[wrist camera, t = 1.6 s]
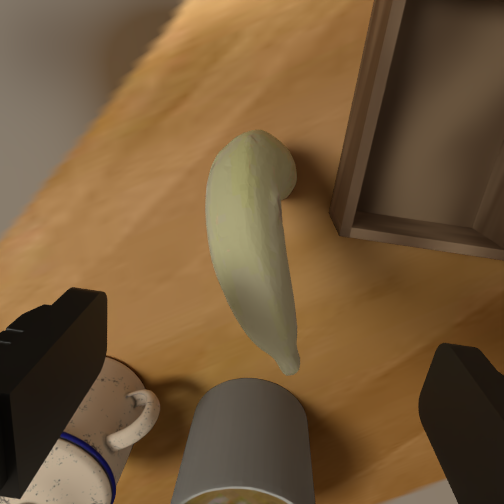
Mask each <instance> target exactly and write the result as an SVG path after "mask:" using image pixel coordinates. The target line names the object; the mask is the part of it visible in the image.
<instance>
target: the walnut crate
mask: <svg viewBox="0 0 504 504" xmlns="http://www.w3.org/2000/svg"><path fill="white" fill-rule="evenodd" d="M329 215H330V217H331V219H332V221H333V223H334V226H335V228H336V230H337V232H338V234H339V236H344V237H350V238H357V239H364V240H370V241H377V242H384V243H391V244H397V245H404V246H411V247H417V248H424V249H431V250H437V251H444V252H451V253H458V254H464V255H471V256H478V257H484V258H491V259H498V260H504V0H374V4H373V9H372V13H371V18H370V23H369V27H368V32H367V37H366V41H365V46H364V51H363V55H362V60H361V65H360V69H359V74H358V79H357V83H356V88H355V93H354V97H353V102H352V107H351V111H350V116H349V121H348V126H347V130H346V135H345V140H344V144H343V149H342V154H341V158H340V163H339V168H338V172H337V177H336V182H335V186H334V191H333V196H332V200H331V205H330V210H329Z"/></svg>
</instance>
